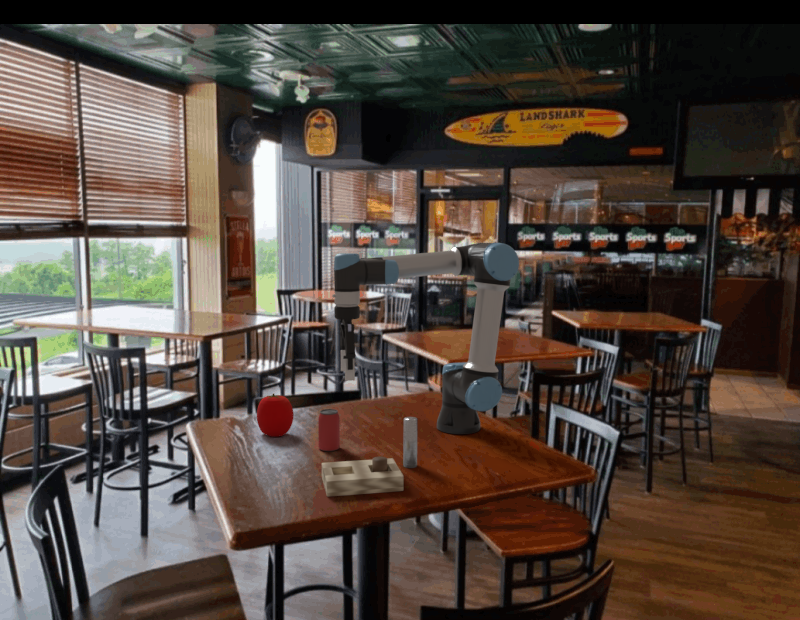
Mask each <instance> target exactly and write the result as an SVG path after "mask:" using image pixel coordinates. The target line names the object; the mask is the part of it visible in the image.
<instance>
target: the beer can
mask: <svg viewBox="0 0 800 620" xmlns="http://www.w3.org/2000/svg"><path fill="white" fill-rule="evenodd" d="M317 420H318V430H317V431H318V449H319V450H321V451H324V452H334V451H337V450H339V449H340V447H341V446H340V445H341V439H340V438H341V435H340V434H341V431H340V429H341V427H340V426H341V424H340V423H341V421H340V420H341V418H340V414H339V411H338V409H335V408H326V409H325V408H324V409H321V410H320V411H319V415H318V419H317Z"/></svg>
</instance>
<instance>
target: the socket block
mask: <svg viewBox="0 0 800 620" xmlns="http://www.w3.org/2000/svg"><path fill="white" fill-rule="evenodd" d="M321 479H322V483H323V487H324V490H325V494H326V497H337V496H338V497H340V496H353V495H369V494H379V493H393V492H394V493H395V492H403V491H404V474H403V472H402V471H401V469H400V468H399V466H398V465H397V463H396V461H395V458H393V457H392V458H389V457H388V458H387V457H386V456H375V457H372V459H362V460H360V459H359V460H346V461H345V460H344V461H331V462H330V461H329V462H321Z"/></svg>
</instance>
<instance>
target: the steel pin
mask: <svg viewBox="0 0 800 620" xmlns="http://www.w3.org/2000/svg"><path fill="white" fill-rule="evenodd" d="M402 437H403V438H402V439H403V440H402V441H403V442H402V443H403V444H402V445H403V449H402V450H403V452H402V453H403V455H402V459H403V461H402V462H403V463H402V464H403V465H402V466H403V467H404V468H406V469H414V468H417V467H418V418H417V417H415V416H406V417H404V418H403V436H402Z"/></svg>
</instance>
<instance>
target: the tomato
mask: <svg viewBox="0 0 800 620" xmlns="http://www.w3.org/2000/svg"><path fill="white" fill-rule="evenodd" d="M262 397H263V398H262V399H261V400H259V404H258V406H257V410H256V421H257V425H258V427H259V430H260V432H261V433H263V434H264V435H265V436H269V437H272V438H274V437H275V438H277V437H278V438H279V437H282V436H285V435H286V434H287V433H288V432H289V430H290V429H291V427H292V425H293V422H294V409H293V406H292V403H291V402H290V400H289V399H288V398H287V397H286V396H285V395H281V394H275V393H272V394H271V395H263V396H262Z"/></svg>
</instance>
